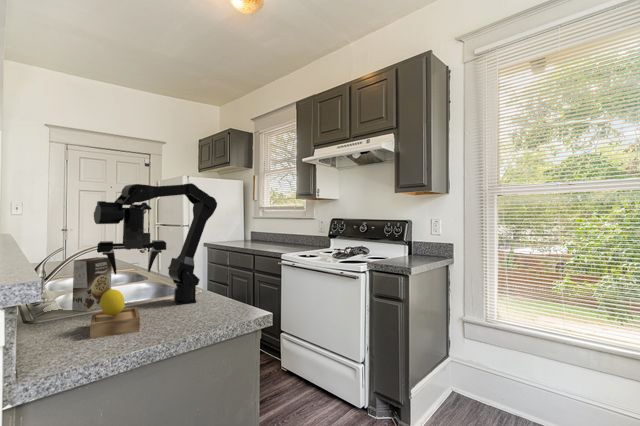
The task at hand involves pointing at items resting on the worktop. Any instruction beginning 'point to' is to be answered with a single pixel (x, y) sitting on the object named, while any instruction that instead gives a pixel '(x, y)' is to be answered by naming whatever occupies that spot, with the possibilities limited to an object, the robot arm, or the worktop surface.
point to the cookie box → (90, 282)
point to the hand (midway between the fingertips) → (132, 273)
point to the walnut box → (114, 323)
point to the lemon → (112, 302)
